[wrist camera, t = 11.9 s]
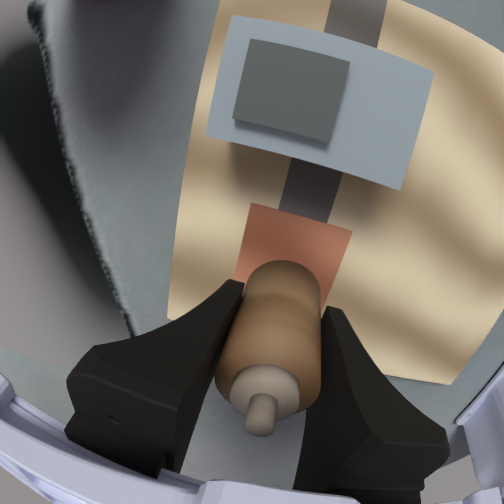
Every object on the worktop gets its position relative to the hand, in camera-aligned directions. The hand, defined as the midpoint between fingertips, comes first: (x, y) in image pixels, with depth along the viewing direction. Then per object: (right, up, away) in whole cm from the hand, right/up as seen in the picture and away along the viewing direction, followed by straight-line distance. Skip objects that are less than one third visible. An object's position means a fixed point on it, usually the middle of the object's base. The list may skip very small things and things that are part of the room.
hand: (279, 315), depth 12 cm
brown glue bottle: (0, +1, +1) cm, 2 cm away
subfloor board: (+6, +5, +3) cm, 8 cm away
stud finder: (+2, +9, 0) cm, 9 cm away
